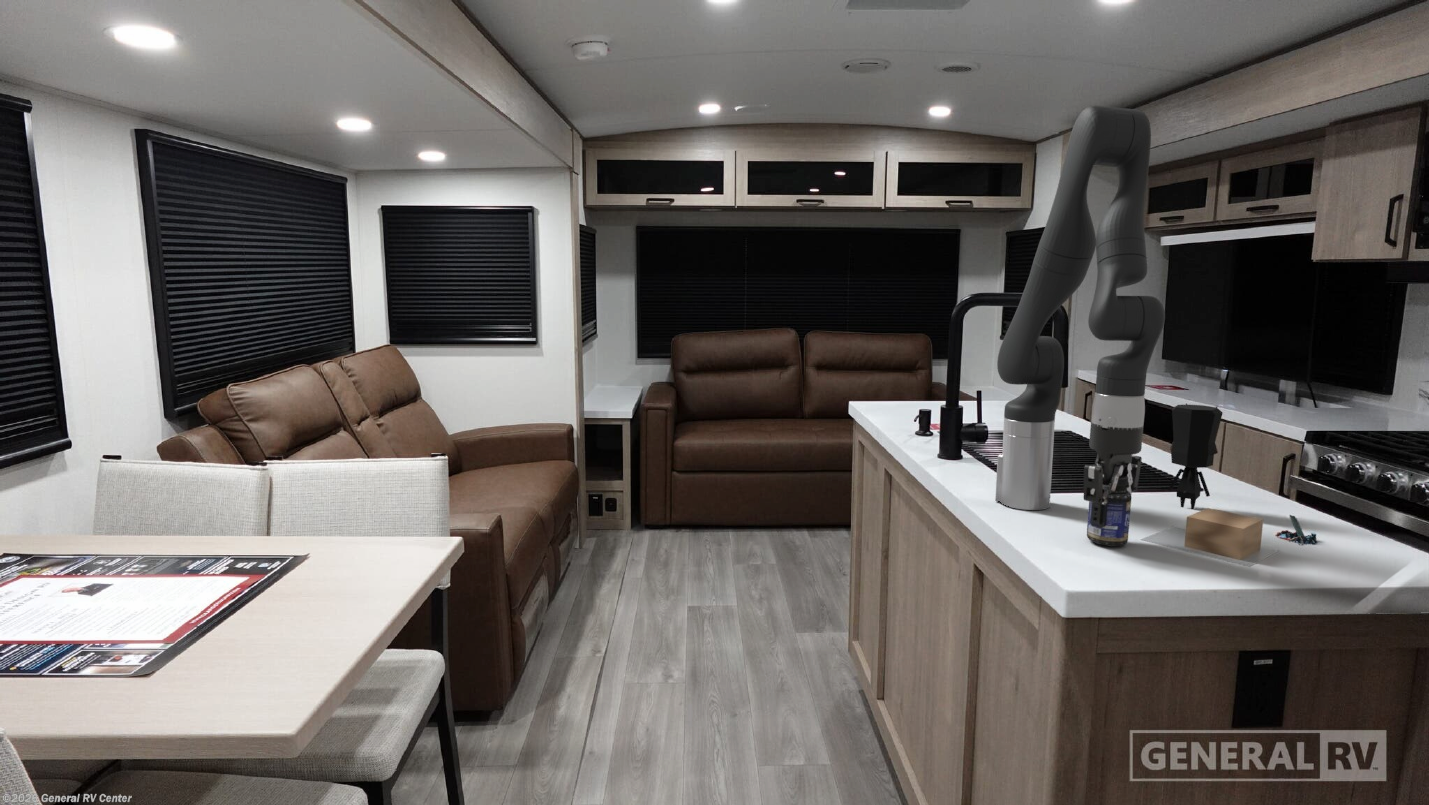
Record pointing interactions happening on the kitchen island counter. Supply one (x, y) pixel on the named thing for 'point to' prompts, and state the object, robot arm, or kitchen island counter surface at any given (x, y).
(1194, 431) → the toy
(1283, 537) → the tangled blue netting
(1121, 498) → the pill bottle
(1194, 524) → the wooden block
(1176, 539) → the build plate
